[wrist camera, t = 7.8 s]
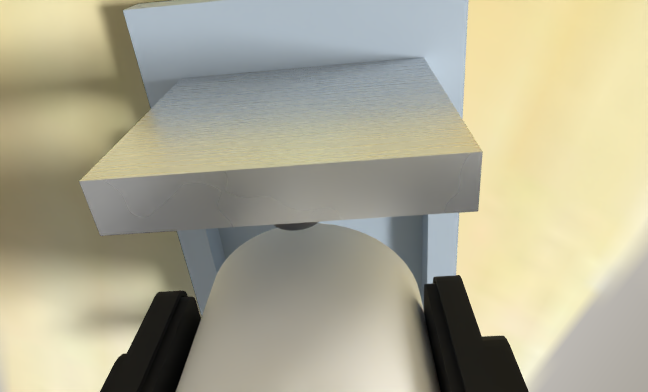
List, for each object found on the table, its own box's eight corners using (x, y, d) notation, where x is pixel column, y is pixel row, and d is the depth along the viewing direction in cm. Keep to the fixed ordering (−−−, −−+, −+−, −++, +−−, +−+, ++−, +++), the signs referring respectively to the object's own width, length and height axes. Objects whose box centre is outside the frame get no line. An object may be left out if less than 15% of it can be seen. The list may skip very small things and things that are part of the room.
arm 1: (181, 78, 12) (78, 180, 7) (423, 57, 12) (482, 151, 7) (197, 143, 13) (115, 274, 8) (423, 126, 13) (474, 253, 8)
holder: (138, 3, 12) (105, 17, 10) (459, -28, 12) (481, -20, 10) (233, 362, 19) (222, 407, 17) (444, 352, 18) (455, 398, 16)
